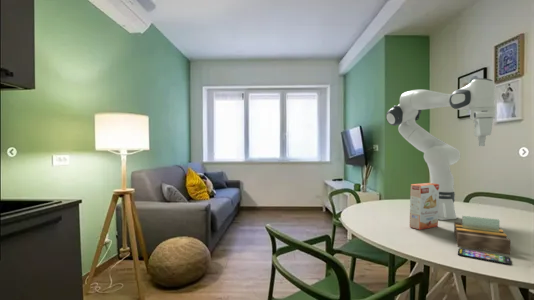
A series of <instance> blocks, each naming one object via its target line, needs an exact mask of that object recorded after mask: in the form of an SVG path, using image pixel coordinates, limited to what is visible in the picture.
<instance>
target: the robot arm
mask: <svg viewBox="0 0 534 300" xmlns="http://www.w3.org/2000/svg"><path fill="white" fill-rule="evenodd" d="M495 99H496V85H495V81H494V80H492V79H490V78H481V77H479V78H474V79H472V80H471V82H470V83H468V84H467V85H464V86H463V87H461V88H459V89H456V90H454V91H453V92H452V93H444V92H440V91H434V90H430V89H412V90H408V91H404V92H403V93H401V95H400V96H399V103H398V105H393V106H392V107H391V108H390V109H388V110H387V112H386V113H385V119H386V121H387V123H388V124H389V125H391V126H398V128H397V130H398V132H399V134H400V135H401V137H402V138H403V139H404V140H406V141H407V142H408V144H410V145H412V147H414V148H415V149H416V150H418V151H420V152H422V153H423V159H424V162H425V163H426V164H427V168H428V171H429V177H430V183H434V184H439V206H438V221H439V220H441V221H446V220H456V219H457V218H458V217H457V212H456V209H455V208H456V207H455V202H456V201H455V200H456V194H455V189H454V188H455V185H454V184H455V177H454V175H453V173H452V171H451V167H450V166H452V165H455V164H456V163H457V162H459V161H460V160H461V152H460V150H459V149H458V148H457V147H454V146H452V145H451V144H448V143H447V142H445V141H444V140H441V139H440V138H438V137H436V136H434V135H433V134H431V133H430V132H429V131H427V130H426V129H425V128H423V127H422V126H420V125H419V124H418V123H417V121H418V120H419V119H420V115H421V114H422V111H424V110H431V109H436V108H437V109H438V108H445V107H451V108H452V109H455V110H458V111H459V110H460V111H470V113H469V119H470V120H472V121H473V124H474V127H473V129H474V131H473V132H474V133H473V135H474V137H477V139H478V140H477V141H478V147H485V146H486V139H487V137H488V136H491V134H492V130H493V122H494V121H493V120H494V119H495V118H496V114H495V113H496V106H495Z"/></svg>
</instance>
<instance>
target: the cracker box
mask: <svg viewBox="0 0 534 300" xmlns="http://www.w3.org/2000/svg"><path fill="white" fill-rule="evenodd" d="M409 192H410V194H409V195H410V200H409V202H410V203H409V227H410V228H412V229H417V230H419V231H421V230H425V229H426V230H427V229H431V228H436V227H438V226H439V219H438V206H439V184H434V183H431V182H423V183H411V184H410V191H409Z"/></svg>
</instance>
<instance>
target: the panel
mask: <svg viewBox="0 0 534 300" xmlns="http://www.w3.org/2000/svg"><path fill="white" fill-rule="evenodd" d="M461 217H462V219H461V221H462V222H461V223H462V228H463V229H472V230H480V231H488V232H497V233H499V227H500V222H501V221H500V220H499V219H498V218H488V217H478V216H470V215H469V216H467V215H462V216H461Z"/></svg>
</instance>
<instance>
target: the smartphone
mask: <svg viewBox="0 0 534 300" xmlns="http://www.w3.org/2000/svg"><path fill="white" fill-rule="evenodd" d="M457 255H458V256H459V257H464V258H470V259H474V260H479V261H484V262H489V263H494V264H495V263H496V264H500V265H505V266H511V265H512V262H511V257H509V256H505V255H500V254H495V253H491V252H483V251H481V250H475V249H470V248H464V247H459V248H458V250H457Z"/></svg>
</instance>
